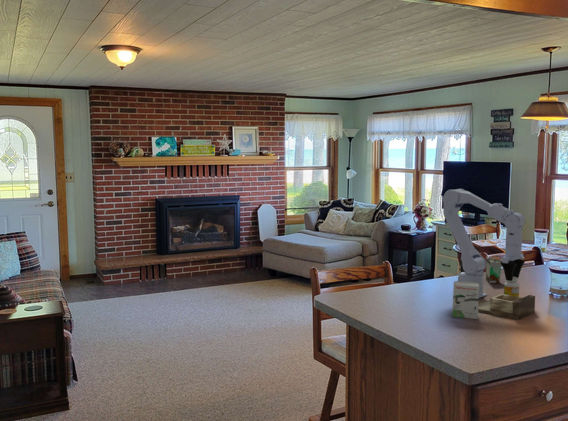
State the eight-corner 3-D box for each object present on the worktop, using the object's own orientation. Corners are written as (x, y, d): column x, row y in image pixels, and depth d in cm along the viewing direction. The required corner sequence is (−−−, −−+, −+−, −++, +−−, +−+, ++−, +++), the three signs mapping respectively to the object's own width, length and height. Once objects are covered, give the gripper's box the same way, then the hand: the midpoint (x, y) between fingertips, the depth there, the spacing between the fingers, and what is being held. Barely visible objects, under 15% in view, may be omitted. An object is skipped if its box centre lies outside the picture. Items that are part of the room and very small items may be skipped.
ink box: (452, 317, 191) (453, 283, 190) (452, 313, 196) (453, 280, 195) (478, 319, 189) (479, 285, 188) (477, 315, 194) (478, 282, 192)
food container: (504, 285, 240) (505, 263, 239) (489, 285, 241) (490, 262, 240) (499, 279, 252) (500, 258, 251) (485, 279, 253) (486, 257, 252)
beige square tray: (489, 308, 198) (490, 298, 197) (500, 304, 204) (501, 293, 204) (514, 313, 191) (515, 302, 191) (525, 309, 198) (525, 298, 197)
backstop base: (465, 308, 202) (466, 292, 201) (483, 302, 212) (483, 286, 211) (518, 319, 188) (519, 302, 188) (534, 312, 198) (535, 295, 197)
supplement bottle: (500, 300, 214) (501, 276, 214) (514, 300, 215) (515, 275, 214) (507, 304, 209) (508, 278, 208) (521, 303, 210) (522, 278, 209)
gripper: (516, 247, 202) (514, 283, 203) (531, 243, 212) (530, 278, 213) (497, 245, 207) (496, 280, 208) (513, 241, 217) (512, 275, 218)
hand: (512, 279), depth 211 cm, fingers open, 5 cm apart
